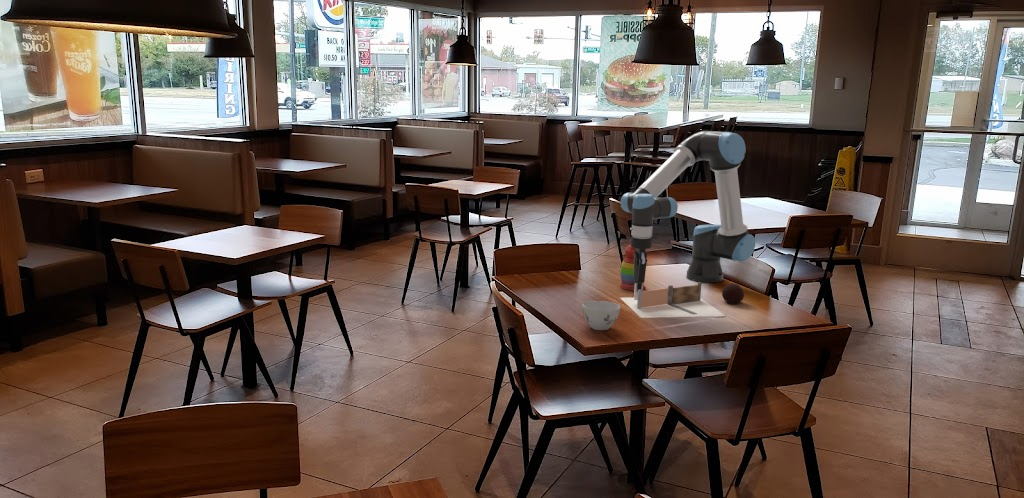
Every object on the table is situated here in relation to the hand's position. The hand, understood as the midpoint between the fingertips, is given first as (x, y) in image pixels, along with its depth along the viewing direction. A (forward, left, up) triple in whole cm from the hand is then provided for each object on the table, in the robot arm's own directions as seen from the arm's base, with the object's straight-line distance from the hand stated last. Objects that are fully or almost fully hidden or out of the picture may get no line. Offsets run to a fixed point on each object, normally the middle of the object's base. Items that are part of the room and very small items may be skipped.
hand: (637, 299), depth 281 cm
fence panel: (-4, +4, -1) cm, 6 cm away
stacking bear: (-6, -26, -3) cm, 27 cm away
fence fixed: (-18, -1, -2) cm, 18 cm away
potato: (-37, 0, -3) cm, 37 cm away
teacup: (+21, +24, -3) cm, 32 cm away
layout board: (-11, +4, -2) cm, 12 cm away
